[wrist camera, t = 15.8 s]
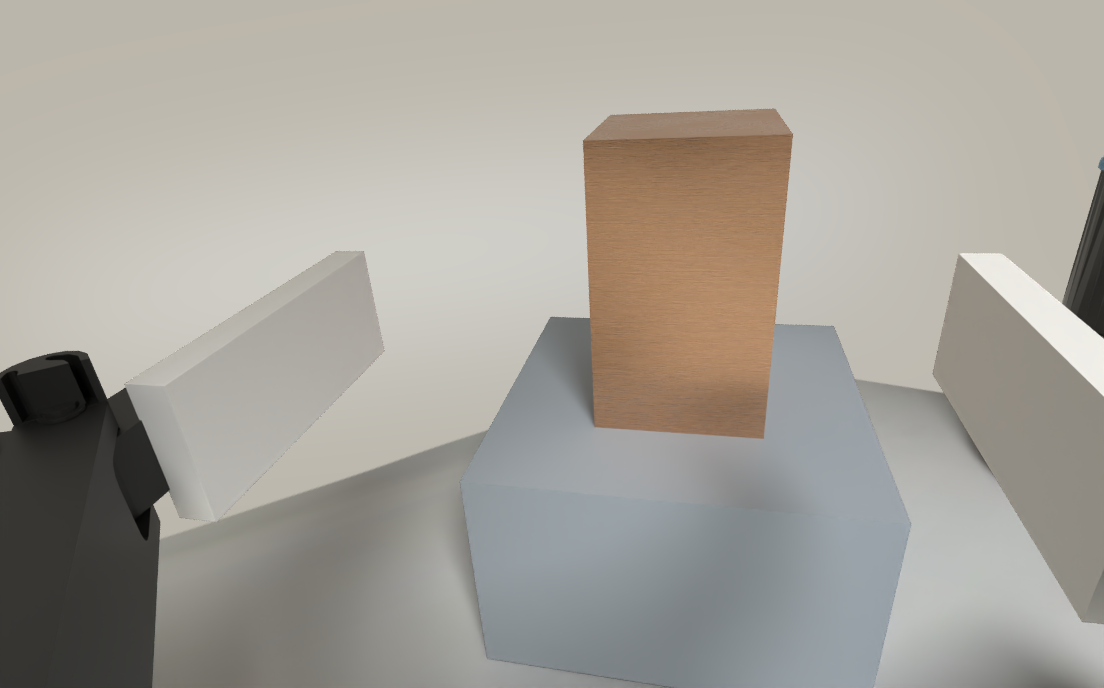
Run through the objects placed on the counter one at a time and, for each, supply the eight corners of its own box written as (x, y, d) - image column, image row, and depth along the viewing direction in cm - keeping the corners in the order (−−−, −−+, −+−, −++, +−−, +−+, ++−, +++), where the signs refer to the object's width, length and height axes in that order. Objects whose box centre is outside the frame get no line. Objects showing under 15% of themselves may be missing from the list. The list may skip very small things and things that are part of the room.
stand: (813, 473, 40) (833, 326, 36) (866, 717, 26) (911, 524, 22) (560, 453, 43) (550, 317, 39) (487, 658, 30) (459, 481, 25)
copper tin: (754, 360, 33) (775, 108, 27) (763, 439, 26) (793, 134, 21) (615, 354, 34) (610, 115, 29) (594, 427, 28) (583, 140, 23)
